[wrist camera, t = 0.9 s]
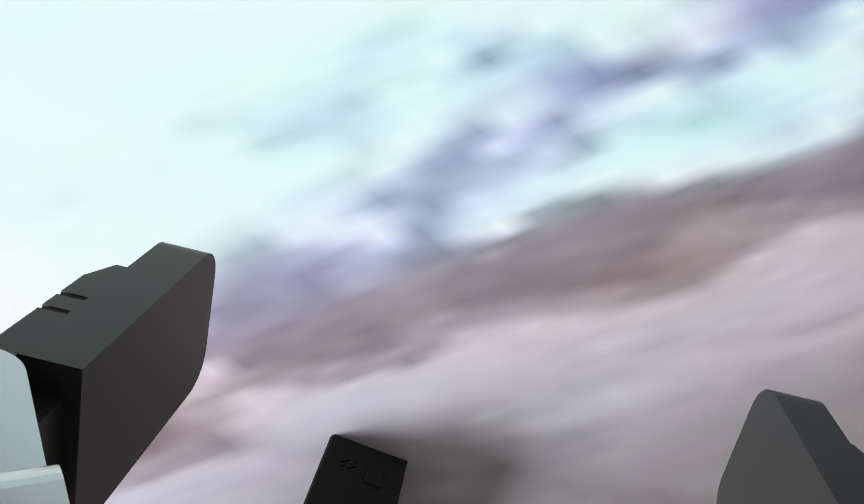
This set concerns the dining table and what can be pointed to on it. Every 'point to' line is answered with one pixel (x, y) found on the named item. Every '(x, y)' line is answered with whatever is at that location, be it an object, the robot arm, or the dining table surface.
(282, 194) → the dining table surface
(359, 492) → the digital camera
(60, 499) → the robot arm
